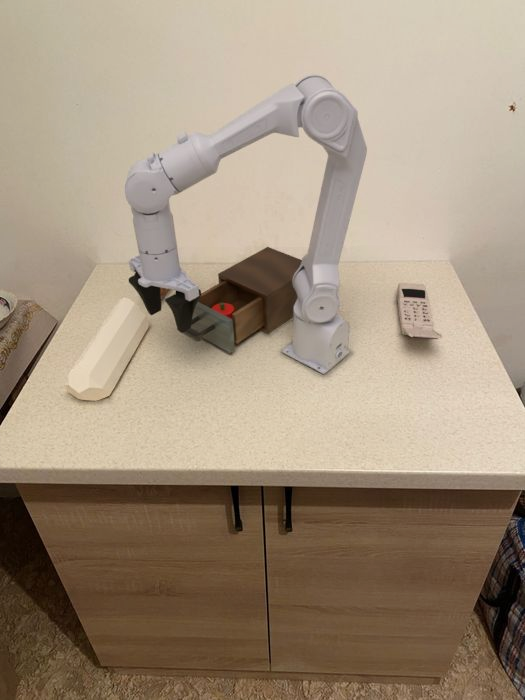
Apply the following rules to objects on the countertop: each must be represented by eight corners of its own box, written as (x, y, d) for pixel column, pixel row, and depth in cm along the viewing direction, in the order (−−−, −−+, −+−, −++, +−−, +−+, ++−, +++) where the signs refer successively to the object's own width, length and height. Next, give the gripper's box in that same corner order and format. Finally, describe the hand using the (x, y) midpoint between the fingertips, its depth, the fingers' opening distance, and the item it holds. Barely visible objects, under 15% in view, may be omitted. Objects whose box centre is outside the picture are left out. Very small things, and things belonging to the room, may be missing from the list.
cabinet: (267, 334, 96) (266, 296, 90) (221, 310, 102) (217, 273, 97) (314, 302, 104) (315, 265, 99) (268, 282, 111) (267, 246, 106)
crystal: (104, 302, 98) (44, 385, 80) (131, 289, 95) (75, 371, 77) (128, 330, 102) (76, 415, 84) (155, 318, 99) (107, 403, 80)
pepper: (239, 324, 95) (238, 302, 92) (224, 335, 93) (222, 312, 89) (224, 316, 97) (222, 294, 94) (208, 326, 95) (205, 304, 92)
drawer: (211, 366, 87) (207, 335, 83) (168, 340, 93) (163, 310, 89) (278, 320, 98) (278, 290, 94) (236, 299, 104) (234, 270, 100)
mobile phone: (407, 335, 85) (398, 262, 104) (401, 362, 89) (394, 287, 108) (444, 338, 84) (428, 264, 103) (436, 365, 88) (423, 289, 107)
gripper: (106, 241, 76) (123, 315, 85) (168, 271, 69) (180, 349, 77) (143, 225, 81) (156, 297, 89) (205, 253, 73) (213, 329, 81)
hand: (169, 320), depth 83 cm, fingers open, 7 cm apart
